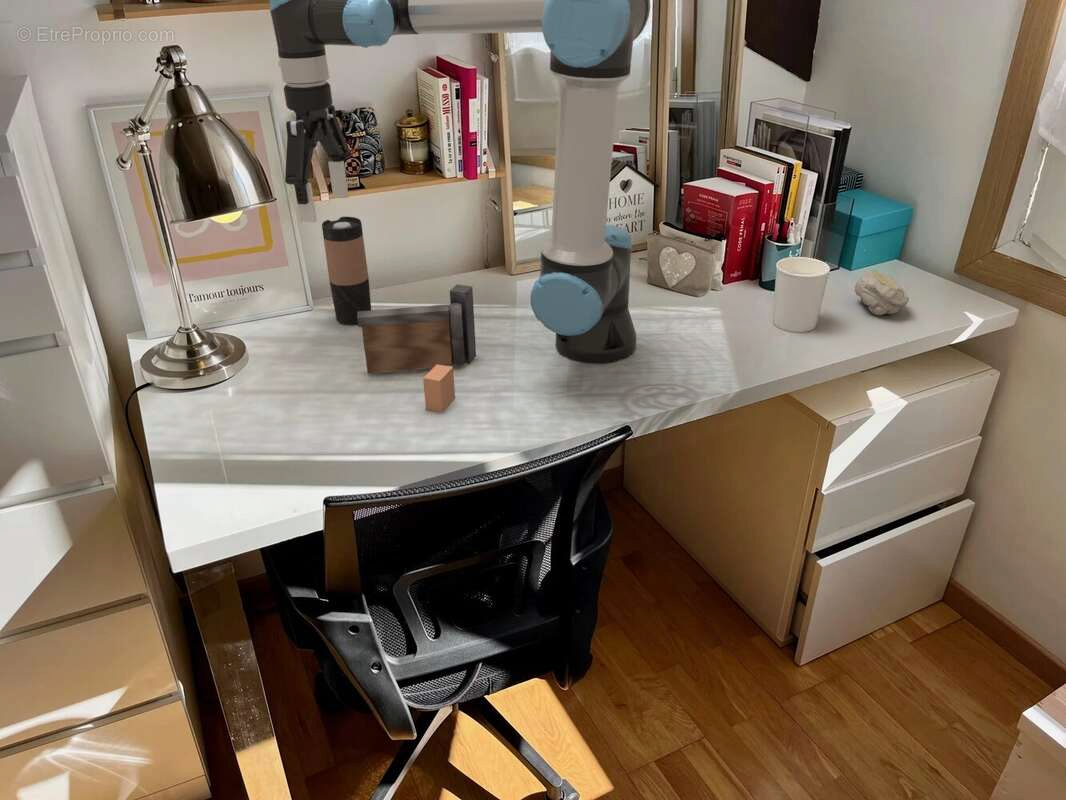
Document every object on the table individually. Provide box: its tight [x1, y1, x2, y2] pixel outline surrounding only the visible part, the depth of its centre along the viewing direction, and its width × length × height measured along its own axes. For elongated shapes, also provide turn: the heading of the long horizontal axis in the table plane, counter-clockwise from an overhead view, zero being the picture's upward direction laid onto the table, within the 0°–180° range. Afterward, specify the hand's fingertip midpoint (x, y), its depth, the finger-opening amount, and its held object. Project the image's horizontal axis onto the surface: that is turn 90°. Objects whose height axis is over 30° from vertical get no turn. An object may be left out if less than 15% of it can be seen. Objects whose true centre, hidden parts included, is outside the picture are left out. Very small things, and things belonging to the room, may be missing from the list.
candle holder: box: [772, 256, 831, 333], centre depth 165 cm, size 10×10×12 cm
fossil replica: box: [854, 269, 910, 316], centre depth 171 cm, size 12×8×10 cm
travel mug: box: [321, 216, 372, 326], centre depth 169 cm, size 8×8×20 cm
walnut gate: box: [357, 303, 466, 374], centre depth 151 cm, size 18×3×11 cm, turn 99°
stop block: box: [422, 364, 456, 413], centre depth 142 cm, size 3×5×6 cm, turn 159°
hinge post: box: [449, 284, 477, 365], centre depth 154 cm, size 3×3×14 cm
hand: (325, 209), depth 151 cm, fingers open, 13 cm apart
